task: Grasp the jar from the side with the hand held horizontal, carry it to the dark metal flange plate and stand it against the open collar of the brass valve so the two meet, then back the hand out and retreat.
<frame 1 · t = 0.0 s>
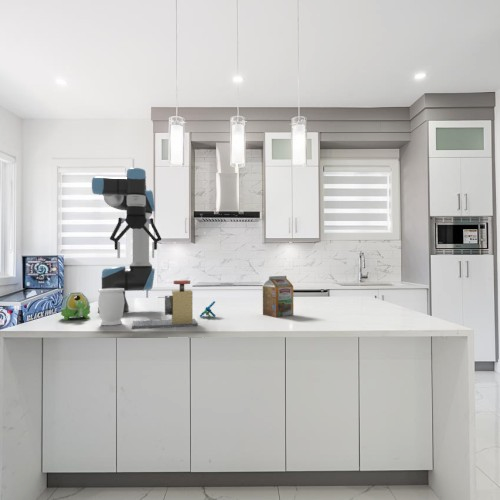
hand: (136, 258, 160), 28 cm above the table, tool pointing down, fingers open, 13 cm apart
turtle holder: (76, 319, 180), on the table
teal toy telescope: (207, 317, 184), on the table
valve fitting: (167, 324, 164), on the table
milk carton: (278, 315, 190), on the table
jar: (111, 324, 165), on the table
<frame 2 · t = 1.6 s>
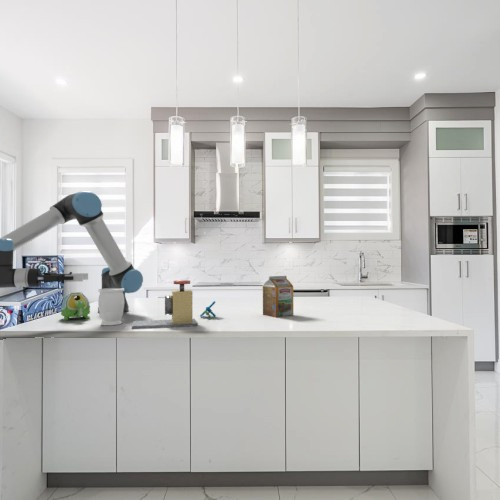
hand: (85, 277, 163), 20 cm above the table, tool horizontal, fingers open, 13 cm apart
nothing on the table moved.
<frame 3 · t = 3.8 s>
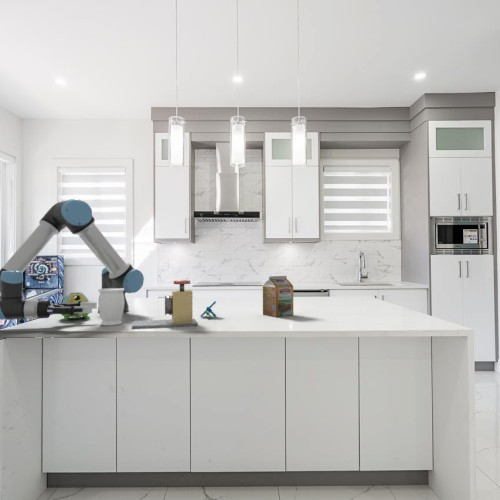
hand: (94, 307, 163), 7 cm above the table, tool horizontal, fingers open, 13 cm apart
nothing on the table moved.
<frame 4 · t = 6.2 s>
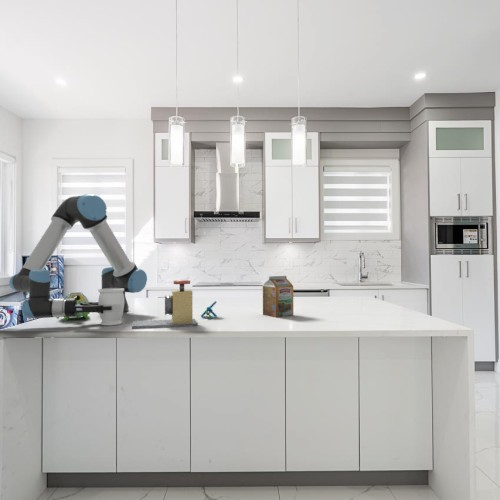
hand: (121, 306, 167), 8 cm above the table, tool horizontal, fingers closed on jar, 10 cm apart
jar: (111, 324, 165), on the table, touching gripper
everything else where it was.
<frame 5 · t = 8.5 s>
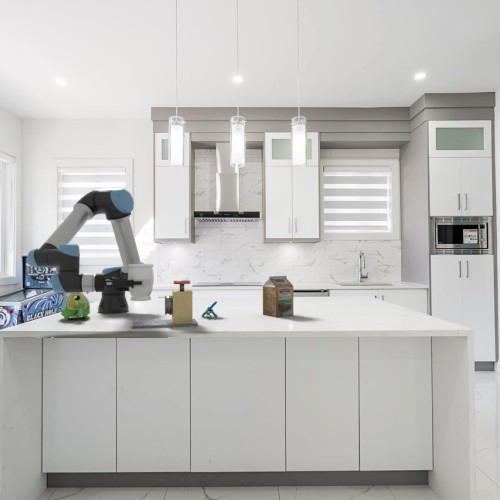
hand: (151, 281, 163), 18 cm above the table, tool horizontal, fingers closed on jar, 10 cm apart
jar: (140, 300, 162), point 10 cm above the table, touching gripper
everything else where it was.
when the fingers open (10 cm above the table, at t = 11.3 s): jar drops 1 cm, resting on valve fitting.
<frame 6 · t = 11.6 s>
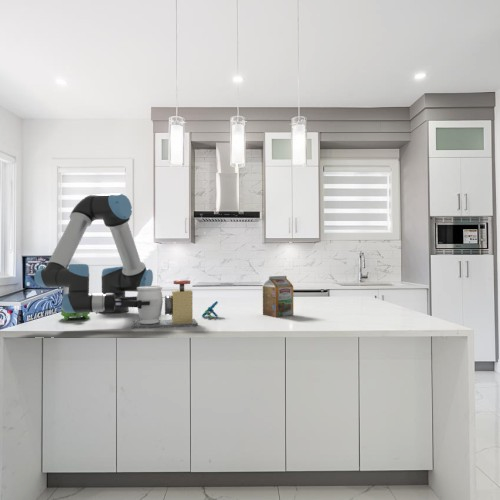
hand: (158, 300, 163), 10 cm above the table, tool horizontal, fingers open, 13 cm apart
jar: (150, 323, 162), point 1 cm above the table, touching valve fitting
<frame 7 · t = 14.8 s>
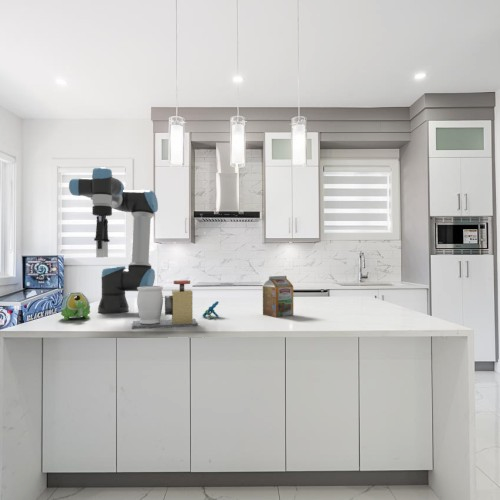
hand: (102, 257, 161), 28 cm above the table, tool pointing down, fingers open, 13 cm apart
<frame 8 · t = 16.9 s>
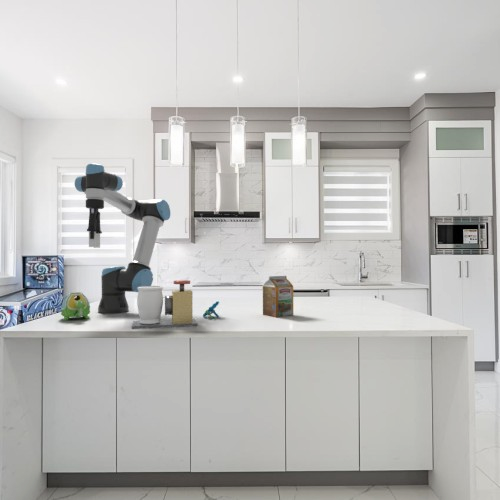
hand: (94, 247, 173), 33 cm above the table, tool pointing down, fingers open, 13 cm apart
at the end: jar inside the target area on the valve fitting (0.1 cm from its centre), point 0.8 cm above the valve fitting's base; jar tilted 0°; the gripper is holding nothing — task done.
